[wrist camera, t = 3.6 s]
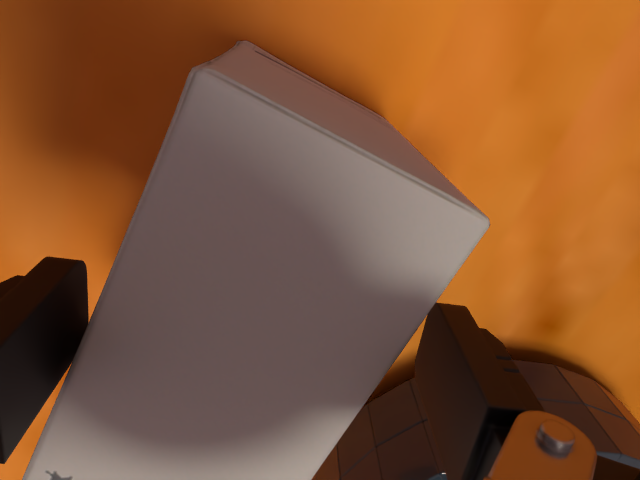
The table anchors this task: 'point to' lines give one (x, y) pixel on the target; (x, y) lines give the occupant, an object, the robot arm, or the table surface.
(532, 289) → the table surface
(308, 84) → the cosmetics box
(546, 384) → the bowl
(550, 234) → the table surface
